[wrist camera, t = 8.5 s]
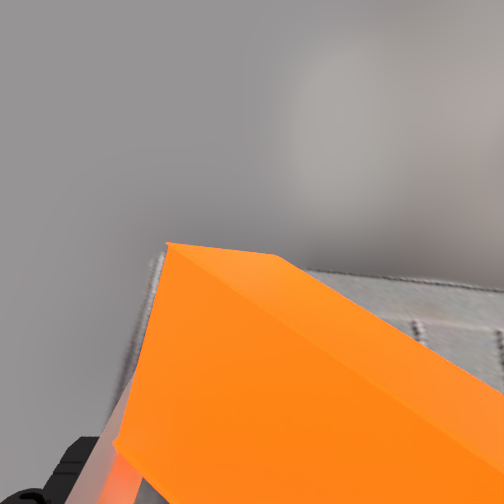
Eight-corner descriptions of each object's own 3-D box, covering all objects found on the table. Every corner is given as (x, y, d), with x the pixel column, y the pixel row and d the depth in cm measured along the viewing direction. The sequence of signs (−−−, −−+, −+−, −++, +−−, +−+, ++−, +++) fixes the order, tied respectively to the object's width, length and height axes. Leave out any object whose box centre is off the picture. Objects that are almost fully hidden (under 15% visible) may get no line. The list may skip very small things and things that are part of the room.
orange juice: (321, 594, 20) (621, 1123, 3) (191, 474, 23) (-17, 406, 6) (392, 456, 23) (733, 342, 6) (270, 366, 26) (277, 124, 9)
